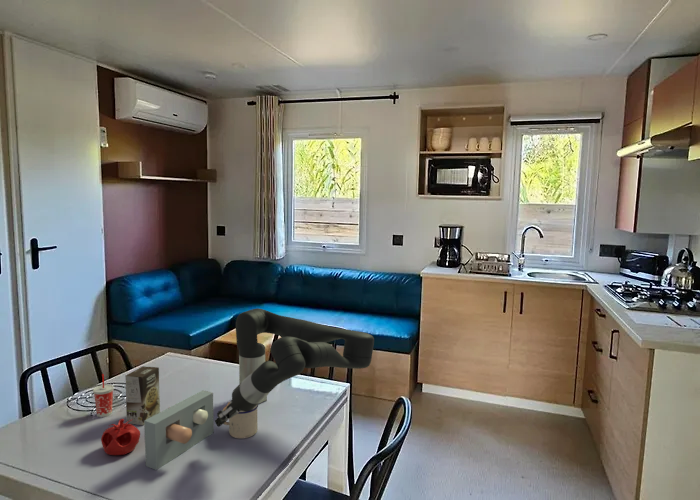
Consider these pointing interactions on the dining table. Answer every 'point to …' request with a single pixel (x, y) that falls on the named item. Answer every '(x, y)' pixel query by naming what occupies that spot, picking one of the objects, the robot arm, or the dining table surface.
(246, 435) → the teacup with lid
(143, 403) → the coffee box
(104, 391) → the beverage cup
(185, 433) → the terracotta button
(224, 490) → the dining table surface
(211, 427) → the button panel
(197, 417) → the cream button
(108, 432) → the tomato
